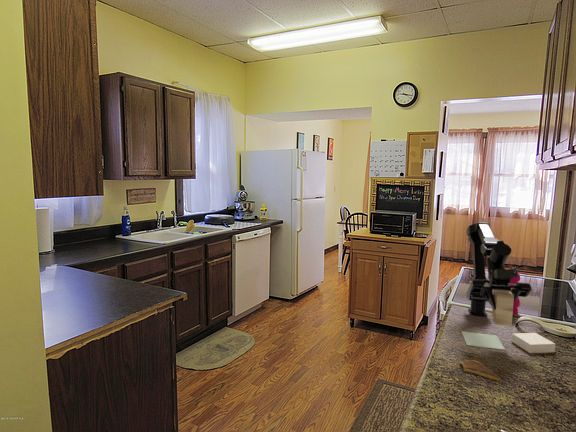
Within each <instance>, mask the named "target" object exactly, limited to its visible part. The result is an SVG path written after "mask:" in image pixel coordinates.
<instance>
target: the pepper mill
mask: <svg viewBox="0 0 576 432" xmlns="http://www.w3.org/2000/svg"><path fill="white" fill-rule="evenodd" d="M519 281H521V275H520V274H519V273H518V277H516V278H512V279H510V283H508V285H509V286H516V284H517V282H519ZM520 306H521V301H520V297H518V298H516V299H515V303H514V308H513V315H517V314H518V313H519V309H518V308H519V307H520Z"/></svg>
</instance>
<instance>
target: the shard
mask: <svg viewBox="0 0 576 432" xmlns="http://www.w3.org/2000/svg"><path fill="white" fill-rule="evenodd" d="M458 362H459V363H460V365H462V367H463V371H464V372H466V373H472V374H475V375H478V376H481V377H484V378H487V379H490V380H495V381H498V382H499V381H500V380H501V379H502V377H500V376H498V375H497V374H496V373H494V371H493V370H492V369H490V368H489V367H488V366H486V365H485V364H484V363H482V362H481V361H478V360H474V359H463V360H462V359H460V360H459V361H458Z"/></svg>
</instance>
